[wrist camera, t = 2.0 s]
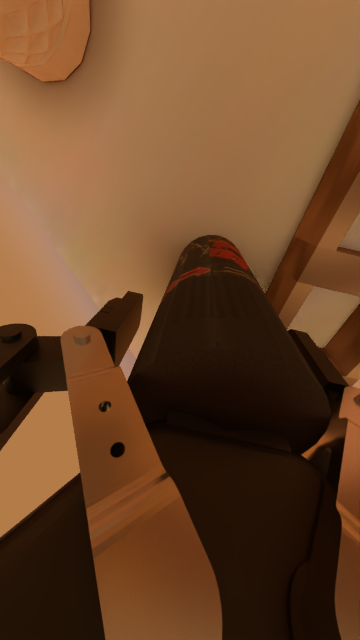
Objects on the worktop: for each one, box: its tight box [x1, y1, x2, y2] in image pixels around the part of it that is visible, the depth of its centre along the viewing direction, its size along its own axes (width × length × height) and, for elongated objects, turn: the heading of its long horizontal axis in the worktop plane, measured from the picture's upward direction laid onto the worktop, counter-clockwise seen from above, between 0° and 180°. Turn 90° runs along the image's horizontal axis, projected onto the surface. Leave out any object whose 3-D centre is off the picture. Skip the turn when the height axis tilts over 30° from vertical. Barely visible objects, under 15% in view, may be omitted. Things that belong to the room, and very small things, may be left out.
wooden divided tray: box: [266, 101, 360, 386], centre depth 15 cm, size 24×10×4 cm, turn 169°
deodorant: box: [127, 235, 331, 455], centre depth 12 cm, size 6×6×15 cm
